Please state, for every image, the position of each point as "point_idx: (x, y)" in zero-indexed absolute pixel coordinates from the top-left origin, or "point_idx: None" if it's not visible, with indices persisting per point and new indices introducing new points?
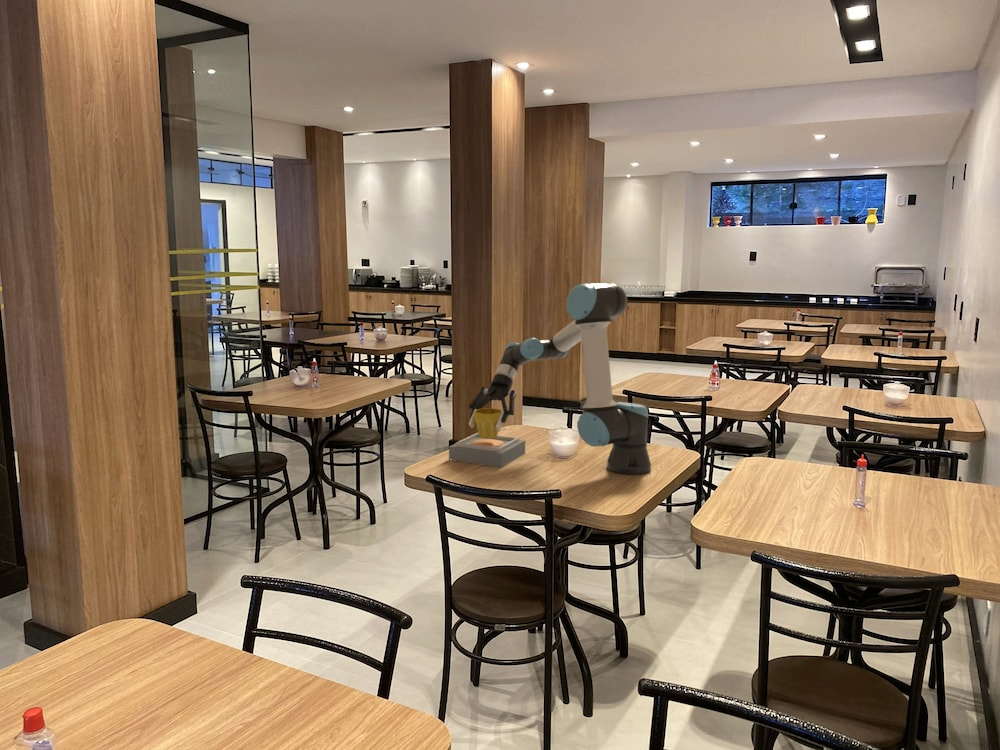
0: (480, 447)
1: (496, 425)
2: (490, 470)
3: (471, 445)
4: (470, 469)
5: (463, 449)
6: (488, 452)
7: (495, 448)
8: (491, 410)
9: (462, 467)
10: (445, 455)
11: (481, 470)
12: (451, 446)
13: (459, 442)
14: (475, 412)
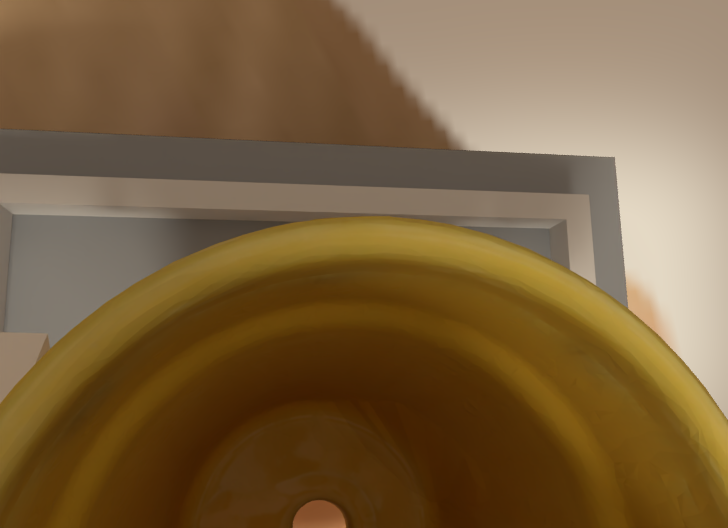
0: (254, 186)
1: (28, 365)
2: (57, 53)
3: (379, 189)
4: (242, 17)
5: (440, 151)
6: (118, 136)
7: (33, 177)
8: None
9: (334, 46)
10: (659, 329)
11: (137, 24)
12: (598, 177)
13: (566, 246)
14: (627, 311)
